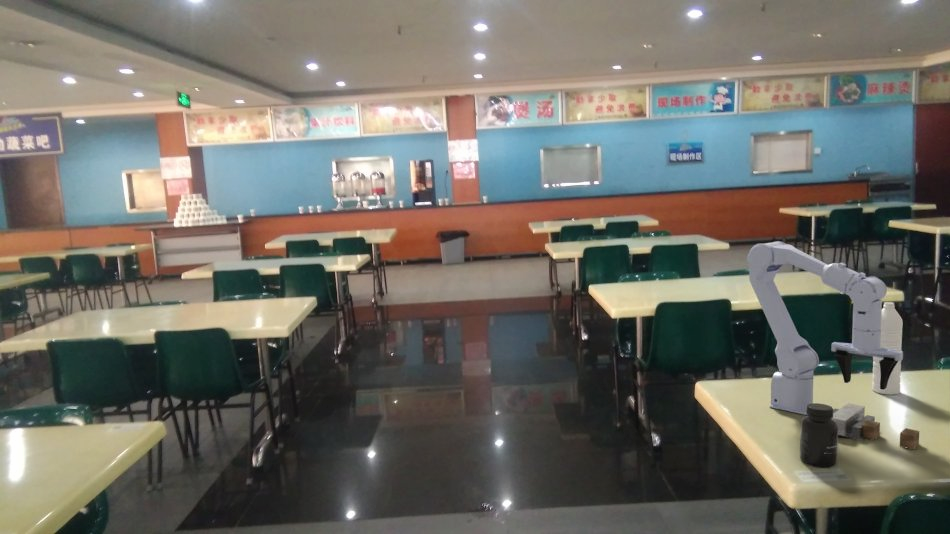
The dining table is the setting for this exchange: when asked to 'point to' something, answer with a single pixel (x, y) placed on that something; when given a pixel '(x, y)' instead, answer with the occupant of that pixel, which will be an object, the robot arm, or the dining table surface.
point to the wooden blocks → (907, 436)
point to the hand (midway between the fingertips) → (864, 385)
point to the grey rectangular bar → (848, 417)
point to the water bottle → (890, 340)
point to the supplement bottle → (819, 436)
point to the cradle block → (858, 427)
